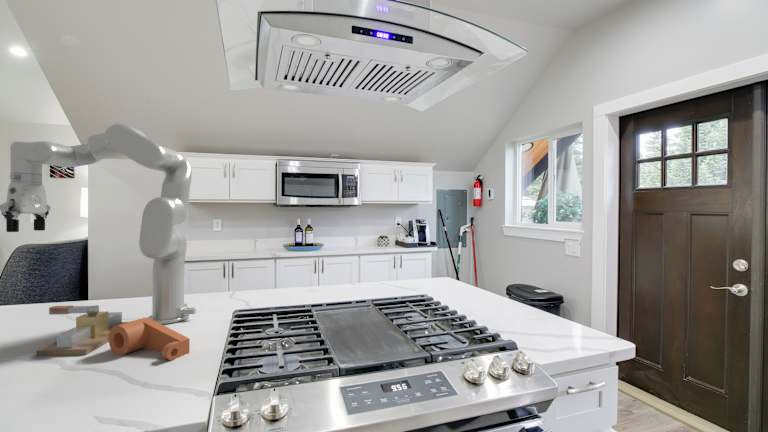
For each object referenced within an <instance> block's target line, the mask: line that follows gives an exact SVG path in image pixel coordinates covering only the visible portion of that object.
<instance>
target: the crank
mask: <svg viewBox="0 0 768 432" xmlns="http://www.w3.org/2000/svg"><path fill="white" fill-rule="evenodd" d="M127 322H128V323H124V324H120V325H117V326H114V327H113V328H112V329H111V330H110V333H109V342H108V345H109V347H110V350H111V351H112V352H113V354H115V355H119V356H124V355H127V354H129V353H132V352H134V351H138V350H141V349H144V350H145V349H146V350H151V351H154V352H155V351H156V352H161V356H162V358H163V359H164V360H170V361H174V360H176V358H177V359H178V358H181V357H183V356H186V355H188V354H190V338H189V337H188V336H185V335H183V334H181V333H179V332H177V331H176V330H173V329H172V328H169V327H167V326H166V325H165V324H160V323H158V322H156V321H154V320H152V319H150V318H148V317H142V318H140V319H139V318H138V319H135V320H132V321H127ZM185 354H186V355H185Z"/></svg>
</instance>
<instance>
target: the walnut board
mask: <svg viewBox="0 0 768 432" xmlns="http://www.w3.org/2000/svg"><path fill="white" fill-rule="evenodd" d="M128 322H129V321H124V322H123V321H122V323H121V324H124V323H128ZM119 325H120V324H119ZM111 329H112V328H111ZM111 329H109V330H108V332H106V333H104V334H102V335H100V336H98V337H96V338H91V339H89V340H87V341H85V342H83V343H81V344H79V345H77V346H75V347H73V348H65V349H57V341H55V342H53V343H50V344H48V345H45V346H44V347H42V348H38V349H37V350H36V351H35V357H58V356H59V357H60V356H61V357H64V356H87V355H89V354H91V353H92V352H94V351H96V350H97V349H99V348H101V347H103V346H104V345H106V344H109V333H110V330H111Z"/></svg>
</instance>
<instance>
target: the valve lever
mask: <svg viewBox="0 0 768 432" xmlns="http://www.w3.org/2000/svg"><path fill="white" fill-rule="evenodd" d="M96 312H100V306H99V305H96V304H95V305H54V306H53V305H52V306H50V307H49V308H48V315H69V314H86V313H96Z"/></svg>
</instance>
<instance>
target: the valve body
mask: <svg viewBox="0 0 768 432" xmlns="http://www.w3.org/2000/svg"><path fill="white" fill-rule="evenodd" d="M122 322H123V312H122V311H117V312H116V311H113V312H109V310H107V311H99V312H96V313H83V314H82V315H79V316H76V318H75V325H76V326H75V327H72V328H69V330H66V331H63V332H60V333H59V334H57V335H56V342H57V349H65V348H73V347H75V346H77V345H79V344H81V343H83V342H85V341H87V340H89V339H91V338H96V337H98V336H100V335H102V334H104V333H106V332H108V330H109V329H111V328H113V327H114V326H117V325H119V324H121V323H122Z"/></svg>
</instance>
